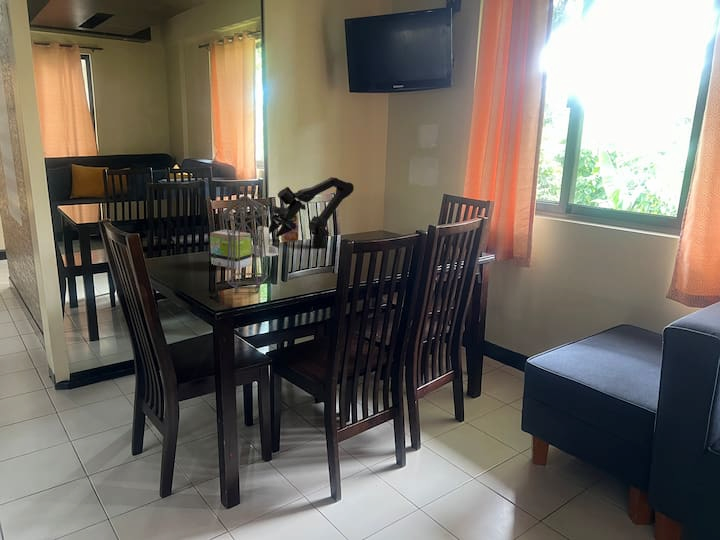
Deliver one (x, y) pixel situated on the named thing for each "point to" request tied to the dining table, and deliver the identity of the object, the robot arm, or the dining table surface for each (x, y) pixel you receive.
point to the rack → (272, 252)
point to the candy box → (291, 232)
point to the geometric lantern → (227, 212)
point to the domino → (266, 238)
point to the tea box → (221, 249)
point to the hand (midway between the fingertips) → (272, 235)
